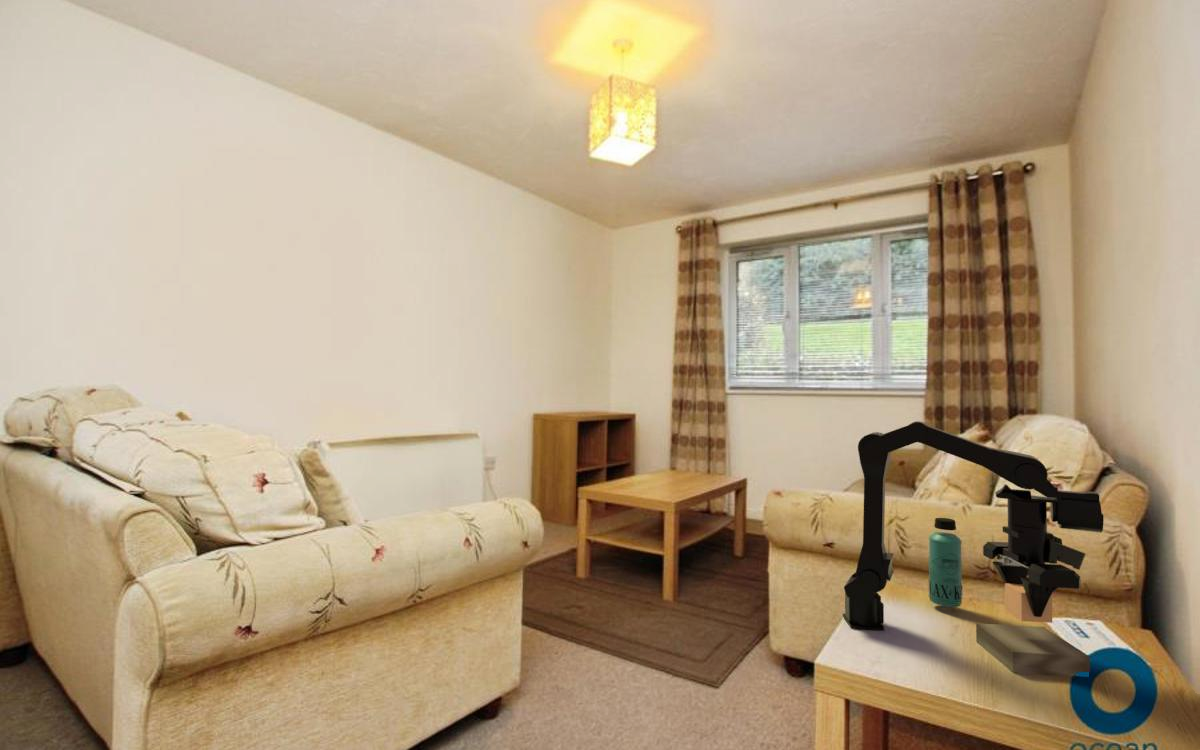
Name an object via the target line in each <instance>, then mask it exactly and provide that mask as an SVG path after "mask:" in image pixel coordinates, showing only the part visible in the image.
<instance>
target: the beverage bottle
mask: <svg viewBox="0 0 1200 750" xmlns="http://www.w3.org/2000/svg"><path fill="white" fill-rule="evenodd" d="M956 525H957V524H956V520H955V519H953V518H947V517H936V518H935V519H934V528H935V529H938V530H944V531H946V532H943V531H936V532H933V533H932V534H930V535H929V537H928V539H929V543H928V544H929V547H928V550H929V552H928V554H929V555H928V556H929V557H928V559H929V561H928V585H927V586H928V598H929V602H932V604H936V605H939V606H941V607H948V608H949V607H950V608H957V607H960V606H961V605H962V603H963V602H962V601H963V583H962V581H963V571H962V566H963V563H962V562H963V561H962V543H963V542H962V539H960V537H958V536H957V535H956V534H954V533H951V532H947V531H956V530H957V526H956Z"/></svg>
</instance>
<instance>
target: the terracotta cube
mask: <svg viewBox="0 0 1200 750" xmlns="http://www.w3.org/2000/svg"><path fill="white" fill-rule="evenodd" d="M1004 593H1005V594H1004V603H1005V604H1004V606H1005V607H1004V609H1005V611H1006V612H1007V613H1009V614H1010V615H1012V616H1013V617H1015V618H1016V619H1018V620H1020V621H1021V622H1032V623H1034V622H1035V623H1046V624H1047V623H1051V624H1052V623H1053V593H1052V594H1051V596H1050V598H1049V600H1048V602H1047V605H1046V607H1045V609H1044V612H1043V614H1042V616H1041V617H1035V616H1034V615H1033V613H1032V610H1031V608H1030V605H1029V602H1028V599H1027V596H1026V593H1025V590H1024V587H1023V584H1011V583H1004Z"/></svg>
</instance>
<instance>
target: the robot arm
mask: <svg viewBox="0 0 1200 750" xmlns="http://www.w3.org/2000/svg"><path fill="white" fill-rule="evenodd" d="M916 443H920V444H923V445H925V446H927V447H931V448H934V449H935V450H937V451H938V450H939V451H941V452H944V453H946V454H950V455H952V456H954V457H957V458H959V459H962V460H965V461H968V462H971V463H973V464H975V465H977V466H981V467H983V468H985V469H987V470H989V471H990V472H992V473H994V474H995V475H997V476H998V477H1000V478H1002V479H1004V480H1006V481H1007V482H1008V483H1011V484H1012V485H1015V486H1016V487H1019V488H1021V489H1015V488H1013V489H1012V488H1011V487H1010V486H1009V485H1008V484H1005V483H1004V485H1002V487H1001V488H1000V489H998V490H996V491H995V497H996V498H997V499H1005V500H1006V499H1007V526H1006V525H1005V526H1004V525H1003V526H1002V532H1003V533H1005V534H1007V541H1004V542H1003V541H987V542H986V543H985V544H983V546H982V550H983V551H982V553H983V556H984V557H986V558H987V559H989V560H994V559H995V558H996V560H997V561H992V565H993V566H995V568H996V570H997V572H998V573H999V575H1000V577H1001V579H1002V581H1003V583H1004V584H1005V583H1011V584H1023V587H1024V590H1025V593H1026V596H1027V599H1028V602H1029V605H1030V608H1031V610H1032V613H1033V615H1034V616H1035V617H1041V616H1042V614H1043V612H1044V609H1045V607H1046V605H1047V602H1048V600H1049V598H1050V596H1051V594H1052V595H1053V593H1054V591H1055V590H1057V589H1060V588H1061V589H1075V590H1076V589H1077V590H1079V589H1081V575H1080V574H1079V573H1077V572H1076V571H1075V570H1074V569H1076V570H1081V566H1082V565H1083V561H1084V559H1085V558H1086V557H1085V556H1086V552H1082V551H1080V550H1077V549H1076V548H1073V547H1070V546H1067V545H1065V544H1063V540H1062V538H1060V537H1057V536H1055V534H1053V533H1051V532H1049V531H1048V525H1047V524H1048V523H1047V522H1048V518H1047V516H1048V515H1047V514H1048V512H1047V508H1048V506H1047V504H1048V503H1050V504H1049V505H1050V507H1049V508H1050V509H1049V511H1050V520H1051V522H1052V523H1056V524H1057V525H1058V527H1059V528H1060V529H1063V530H1064V529H1065V530H1074V531H1083V532H1091V533H1093V532H1094V533H1102V532H1103V530H1104V514H1103V513H1102V507H1101V506H1102V505H1101V502H1100V494H1099V493H1098V492H1096V491H1072V490H1071V491H1070V490H1059V488H1058V486H1057V485H1056V484H1055V483H1052V482H1050V480H1049V479H1048V475H1049V474H1048V469H1047V468H1046V466H1045V464H1044V463H1042V462H1041V460H1039V459H1038V458H1037V457H1035V456H1033V455H1030V454H1025V453H1020V452H1015V451H1011V450H1005V449H1000V448H994V447H989V446H986V445H984V444H981V443H979V442H975V441H973V440H970V439H967V438H964V437H962V436H959V435H956V434H954V433H951V432H947V431H944V430H942V429H940V428H936V427H934V426H932V425H928V424H927V423H925V422H923V421H918V420H917V421H913V422H911V423H910V424H908V425H906V426H903V427H902V426H901V427H899V428H897V429H894V430H891V431H889V432H886V433H882V432H877V431H875V432H871V433H868V434H866V435H863V437H862V438H860V440H859V441H858V444H857V451H858V457H859V463H860V468H861V470H862V473H863V477H864V478H863V517H862V519H863V522H862V523H863V526H862V527H863V529H862V532H863V535H862V546H861V550H860V553H859V557H858V562H857V565H856V570H855V572H854V573H853V574H851V576H850V577H849V578H848V580H847V581H846V583H845V584H844V586H843V589H844V613H842V617H843V619H844V620H845V621H846V623H847V624H848V625H849V627H850V628H851V629H863V630H879V631H883V630H885V626H884V625H883V624H884V623H885V618H884V612H885V611H884V610H885V609H884V607H885V604H884V603H883V602H882V597H881V595H880V594H879V593H878V592H881V591H882V590H884V589H885V587H886V586H887V583H888V582H889V581H891V579H892V577H893V574H894V573H895V571H894V568H893V560H894V555H895V553H894V552H887V550H886V546H885V511H886V510H885V507H886V505H885V503H886V502H885V501H886V476H887V472H888V468H889V465H890V461H891V456H892V452H894V451H896V450H899V449H902V448H905V447H908V446H909V445H913V444H916ZM1032 490H1034V491H1035V492H1037V493H1039V494H1040V495H1042V496H1039V495H1033V494H1032V493H1031V491H1032ZM1058 562H1060V563H1063V564H1065V565H1067V566H1070V567H1072V568H1073V569H1072V568H1069V567H1067V566H1065V565H1062V564H1058ZM1048 563H1049V564H1048Z"/></svg>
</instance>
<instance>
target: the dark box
mask: <svg viewBox="0 0 1200 750" xmlns="http://www.w3.org/2000/svg"><path fill="white" fill-rule="evenodd" d="M975 630H976V631H975V633H976V634H975V635H976V640H975V642H976V643H977V644H978V645H979V646H980V647H982V649H984V650H985V651H986V652H988V653H989V654H990V655H991V656H992V657H993V658H994V659H996V660H997V661H999V663H1001V664H1002V665H1003V666H1004V667H1006V668H1007V669H1008V670H1009V671H1010V672H1011V673H1013V674H1021V675H1022V674H1023V675H1035V676H1037V675H1039V676H1053V677H1054V676H1055V677H1068V676H1069V678H1073V677H1072V676H1074V675H1075V674H1076V673H1077V672H1090V673H1091V656H1090V655H1089V654H1086V653H1085V652H1083V651H1082V650H1080V649H1079V648H1077V647H1075V646H1074V645H1073V644H1072V643H1070V642H1068V641H1067V640H1065V639H1063V638H1062V637H1060V636H1059V635H1057V634H1056V633H1054V632H1052V631H1051V630H1049V628H1047V627H1046V626H1045V627H1044V626H1034V625H1033V626H1032V625H1016V624H1015V625H1014V624H993V623H979V622H977V623H975Z"/></svg>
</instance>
